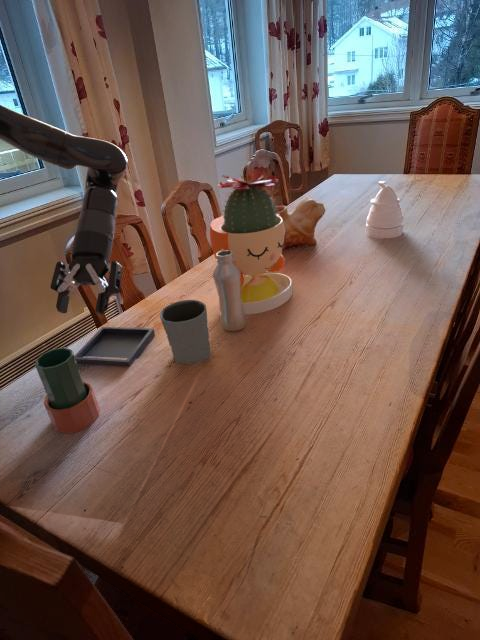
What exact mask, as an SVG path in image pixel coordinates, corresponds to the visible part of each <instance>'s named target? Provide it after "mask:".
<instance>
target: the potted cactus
mask: <svg viewBox="0 0 480 640" xmlns="http://www.w3.org/2000/svg"><path fill="white" fill-rule="evenodd" d="M264 171H265V167H264V166H262V165H261V166H260V167H258V168H256V167H255V168H253V169H251V170H250V171H248V172H246V174H245V175H244V174H242V175H240V177H233V178H232V177H230V176H228V175H221V177H222V178H225V179H227V180H226V182H225V183H224V182H223V181H219V183H218V184H217V186H218V187H219V188H221V189H225V188H226V189H227V188H228V189H229V188H230V189H232V190H229V194H226V196H227V197H226V196H225V197H226V198H227V200H224V202H225V204H223V205H222V207H223V208H224V209H222V210H221V212H223V215H220V216H219V217H216V218H214V219H212V221H211V222H210V225H209V241H210V245H211V249H212V252H213V255H214V258H215V260H216V261H217V256H216V254H217V253H218V252H220V251H232V255H233V261H232V262H233V263H234V264H235V265H236V266H237V267H238V268H239V270H240V273H241V283H240V289H241V300H242V304H243V309H244V311H245V314H246V315H255V314H261V313H266V312H268V311H272V310H274V309H277V308H278V307H280V306H283V305H284V304H285V303H287V302H288V301H289V300H290V299H291V297H292V295H293V283H292V282H293V281H292V279H291V277H290V276H288V275H287V274H285V273H280V272H279V271H281V270H283V268H284V267H285V265H286V260H285V257H284V256H283V255H282V253H283V251H284V250H283V246H284V242H285V229H284V224H283V220H282V218H281V216H280V214H276V212H278V211H276V209H277V208H276V209H275V207H276V206H277V205H276V204H275V203H274V201H275V198H273V197H272V195H273V194H274V193H273V192H272V193H271V195H270V190H268V188H269V187H271V188H272V187H274V186H275V185H276V184H277V183H279V179H278V178H277V177H276V176H275V175H272V174H271V175H269V176H267V177H266V178H264V174H263V173H264ZM263 178H264V179H263ZM278 210H279V209H278Z"/></svg>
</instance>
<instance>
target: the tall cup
mask: <svg viewBox="0 0 480 640" xmlns="http://www.w3.org/2000/svg"><path fill="white" fill-rule="evenodd" d="M74 356H75V354H74V351H73V349H71V348H67V347H59V348H53V349H50V350H48V351H46V352H43V353H41V354H40V356H38V357H37V358H36V359H35V361H34V362H35V363H34V364H35V369H36V371H37V373H38V376H39V379H40V381H41V383H42V386H43V388H44V390H45V393H46V396H47V395H48V398H49V400H50V403H51V405H52V408H53V409H66V408H70V407H72V406H75V405H77V404H79V403H80V402H82V401H83V400H84V399H85V398H86V397H87V396H88V393H87V390H86V388H85V385H84V382H83V381H84V380H83V376H82V374H81V370H80V368H79V364H77V362H76V359H75V357H74Z"/></svg>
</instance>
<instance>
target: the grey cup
mask: <svg viewBox="0 0 480 640" xmlns="http://www.w3.org/2000/svg"><path fill="white" fill-rule="evenodd" d="M159 317H160V321H161V324H162V326H163V329H164V332H165V335H166V338H167V341H168V344H169V347H171V349H170V350H171V353H172V356H173V359H174V361H176V362H177V363H179V364H183V365H193V364H198V363H204V362H206V361H207V360H208V359H209V358H210V355H211V352H212V351H211V343H210V333H209V327H208V323H209V322H208V311H207V305H206V304H205V303H204V302H203V301H200V300H196V299H184V300H179V301H176V302H172V303H169V304H168V305H167V306H165V307H163V308H162V310H161V311H160V314H159Z"/></svg>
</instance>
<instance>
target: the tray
mask: <svg viewBox="0 0 480 640" xmlns="http://www.w3.org/2000/svg"><path fill="white" fill-rule="evenodd" d="M155 336H156V333H155V329H154V328H153V327H152V328H151V327H120V326H119V327H117V326H101V327H100V328H99V330H97V332H96V333H95V334H93V336H92V337H91V338H90V339H89V340H88V341H87V342H86V343H85V344H84V345H83V346H82V347H81V348H80V350H78V351H77V353H75V354H74V357H75V359H76V362H77V365H81V366H82V365H83V366H84V365H85V366H100V367H101V366H103V367H119V368H130V367H131V366H132V365H133V363H134V362H135V361H136V360H138V359H139V358H140V356H141V355H142V354H143V353H144V351H145V349H146V348H147V347H148V346H149V344H150V343H151V342H152V340H153V339H154V337H155Z"/></svg>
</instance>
